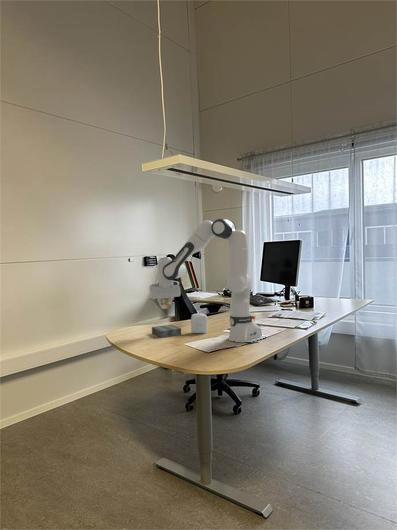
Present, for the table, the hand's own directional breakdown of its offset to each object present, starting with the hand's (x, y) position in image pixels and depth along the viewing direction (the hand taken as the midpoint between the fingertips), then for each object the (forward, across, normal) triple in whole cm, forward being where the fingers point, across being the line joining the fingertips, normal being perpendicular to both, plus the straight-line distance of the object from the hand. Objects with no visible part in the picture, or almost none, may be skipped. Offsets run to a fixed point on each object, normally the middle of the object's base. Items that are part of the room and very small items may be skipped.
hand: (165, 304), depth 224 cm
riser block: (+19, 0, 0) cm, 19 cm away
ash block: (+2, 0, 0) cm, 2 cm away
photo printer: (+19, +19, -9) cm, 28 cm away
